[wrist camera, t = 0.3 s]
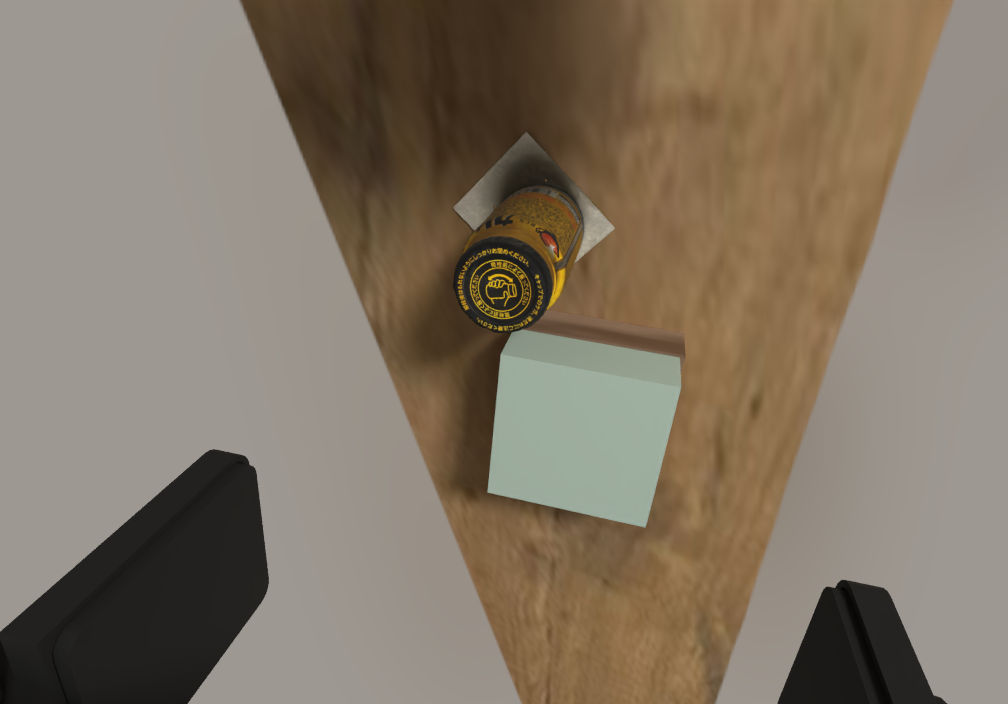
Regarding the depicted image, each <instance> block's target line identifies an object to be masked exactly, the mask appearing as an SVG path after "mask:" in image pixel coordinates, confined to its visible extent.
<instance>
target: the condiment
mask: <svg viewBox="0 0 1008 704" xmlns="http://www.w3.org/2000/svg"><path fill="white" fill-rule="evenodd" d="M545 179H546V180H547V182H545ZM494 205H496V209H495V210H494V207H493V206H494ZM453 209H454V210H455V211H456V212H457V213H458V214H459V215H460V216H461V217H462V218H463V219H464V220H465V221H466V222H467V223H468V224H469V225H470V227H471V228H472V229H473V230H474V232H473V234H472V235H471V237H470V238H469V240H468V241H467V243H466V245H465V248H464V250H463V254H462V256H461V257H460V260H459V262H458V263H457V266H456V269H455V275H454V281H453V288H454V290H455V293H456V296H457V299H458V302H459V305H460V307H461V308H462V310H463V311H464V312H465V313H466V314H467V315H468V317H469V318H470V319H472V320H473V321H474V322H475V323H476V324H478V325H479V326H481V327H484V328H487V329H489V330H492V331H494V332H497V333H510V332H516V331H520V330H522V329H525V328H528V327H530V326H532V325H533V324H534V323H535V322H537V321H538V320H539V319H540V318H541V317H542V316H543V315H544V313H545V311H546V310H548V309H549V308H550V307H551V306H552V305H553V304H554V303H555V301H556V300H557V299H558V298H559V296H560V295H561V293H562V291H563V288H564V286H565V284H566V282H567V280H568V278H569V275H570V271H571V269H572V268H573V264H574V263H575V262H576V261H577V260H579V259H580V258H581V257H582V256H583V255H584V254H585V253H587V252H588V251H589V250H590V249H591V248H593V247H594V246H595V245H596V244H597V243H599V242H600V241H601V240H602V239H603V238H604V237H606V236H607V235H608V234H609V233H610V232H611V231H612V230H614V229H615V228H614V227H613V226H612V224H611V223H610V222H609V221H608V220H607V219H606V218H605V217H604V215H603V214H602V213H601V212H600V211H599V210H598V209H597V208H596V207H595V205H593V204H592V202H591V201H590V200H589V199H588V198H587V197H586V195H585V194H584V193H583V192H582V191H581V190H580V189H579V188H578V187H577V186H576V185H575V184H574V183H573V182H572V181H571V179H570V178H569V177H568V176H567V175H566V174H565V173H564V172H563V171H562V170H561V169H560V167H559V166H558V165H557V164H556V163H555V162H554V161H553V160H552V159H551V157H550V156H549V155H548V154H547V153H546V152H545V151H544V150H543V149H542V148H541V147H540V146H539V145H538V144H537V143H536V142H535V140H534V139H533V138H532V137H531V136H530V135H529V134H528V133H527V132H525V133H524V134H523V135H522V136H521V137H520V138H519V140H518V141H517V142H516V143H515V144H514V145H513V146H512V147H511V148H510V149H509V150H508V151H507V152H506V153H505V154H504V155H503V156H502V157H501V158H500V159H499V160H498V162H497V163H496V164H495V165H494V166H493V167H492V168H491V169H490V170H489V171H488V172H487V173H486V174H485V175H484V177H483V178H481V179H480V180H479V181H478V182H477V183H476V185H475V186H474V187H473V188H472V189H471V190H470V191H469V192H468V193H467V194H466V195H465V196H464V197H463V198H462V199H461V200H460V201H459V202H458V203H457V204H456V205H455V206H454V207H453Z"/></svg>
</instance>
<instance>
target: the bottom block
mask: <svg viewBox="0 0 1008 704" xmlns="http://www.w3.org/2000/svg"><path fill="white" fill-rule="evenodd" d="M522 330H528V331H533V332H539V333H545V334H550V335H556V336H561V337H567V338H573V339H578V340H584V341H589V342H595V343H601V344H606V345H612V346H618V347H623V348H629V349H634V350H640V351H646V352H651V353H657V354H663V355H668V356H674V357H679V358H680V373H681V372H682V368H683V363H684V359H685V343H684V333H681V332H675V331H669V330H664V329H658V328H652V327H646V326H640V325H634V324H628V323H622V322H616V321H610V320H604V319H599V318H593V317H587V316H581V315H575V314H569V313H563V312H557V311H551V310H546V311H545V313H544V315H543V316H542V317H541V318H540V319H539V320H538V321H537V322H535V323H534V324H533V325H532V326H530V327H528V328H525V329H522Z"/></svg>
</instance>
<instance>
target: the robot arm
mask: <svg viewBox="0 0 1008 704" xmlns="http://www.w3.org/2000/svg"><path fill="white" fill-rule="evenodd" d="M268 584H269V577H268V568H267V560H266V552H265V542H264V534H263V525H262V517H261V509H260V500H259V491H258V483H257V474H256V470H255V468H254V467H253V466H250V465H249V461H248V459H247V458H246V457H245V456H243V455H239V454H234V453H230V452H224V451H220V450H215V449H214V450H209V451H208V452H206V453H205V454H204V455H202V456H201V457H200V458H199V459H198V460H197V461H196V462H195V463H193V464H192V465H191V466H190V467H189V468H188V469H186V470H185V471H184V472H183V473H182V474H181V475H179V476H178V477H177V478H176V479H175V480H174V481H173V482H171V483H170V484H169V485H168V486H167V487H166V488H165V489H163V490H162V491H161V492H160V493H159V494H158V495H157V496H155V497H154V498H153V499H152V500H151V501H150V502H149V503H147V504H146V505H145V506H144V507H143V508H142V509H141V510H140V511H138V512H137V513H136V514H135V515H134V516H132V517H131V518H130V519H129V520H128V521H127V522H126V523H124V524H123V525H122V526H121V527H120V528H119V529H118V530H116V531H115V532H114V533H113V534H112V535H111V536H110V537H108V538H107V539H106V540H105V541H104V542H103V543H102V544H101V545H99V546H98V547H97V548H96V549H95V550H94V551H92V552H91V553H90V554H89V555H88V556H87V557H86V558H85V559H83V560H82V561H81V562H80V563H79V564H77V565H76V566H75V567H74V568H73V569H72V570H71V571H70V572H68V573H67V574H66V575H65V576H64V577H63V578H61V579H60V580H59V581H58V582H57V583H56V584H54V585H53V586H52V587H51V588H50V589H49V590H48V591H47V592H46V593H44V594H43V595H42V596H41V597H40V598H38V599H37V600H36V601H35V602H34V603H33V604H32V605H30V606H29V607H28V608H27V609H26V610H25V611H24V612H22V613H21V614H20V615H19V616H18V617H17V618H16V619H14V620H13V621H12V622H11V623H10V624H9V625H8V626H6V627H5V628H4V629H3V630H2V631H1V632H0V704H188V702H189V701H190V700H191V698H192V697H193V695H194V694H195V693H196V691H197V690H198V689H199V687H200V686H201V684H202V683H203V682H204V680H205V679H206V678H207V676H208V675H209V673H210V672H211V671H212V669H213V668H214V667H215V665H216V664H217V662H218V661H219V660H220V658H221V657H222V656H223V654H224V653H225V652H226V650H227V649H228V647H229V646H230V645H231V643H232V642H233V640H234V639H235V638H236V636H237V635H238V634H239V632H240V631H241V630H242V628H243V627H244V625H245V624H246V622H247V621H248V620H249V619H250V617H251V616H252V614H253V613H254V612H255V610H256V609H257V608H258V606H259V605H260V604H261V602H262V600H263V599H264V597H265V595H266V592H267V588H268ZM778 704H947V703H946V702H945V701H944V700H943V699H942V698H940V697H937V696H934V695H933V693H932V691H931V689H930V686H929V684H928V682H927V679H926V677H925V675H924V672H923V670H922V668H921V666H920V663H919V661H918V659H917V656H916V654H915V652H914V649H913V647H912V645H911V642H910V640H909V638H908V635H907V633H906V631H905V628H904V626H903V624H902V621H901V619H900V617H899V615H898V612H897V610H896V608H895V605H894V603H893V601H892V599H891V597H890V595H889V593H888V591H887V590H885V589H884V588H881V587H876V586H871V585H867V584H861V583H857V582H852V581H847V580H841V581H840V582H839V583H838V584H837V586H836V588H832V587H826V588H825V589H824V590H823V592H822V594H821V596H820V599H819V601H818V604H817V606H816V609H815V611H814V614H813V616H812V619H811V621H810V624H809V626H808V629H807V631H806V634H805V636H804V639H803V641H802V643H801V646H800V648H799V651H798V653H797V656H796V658H795V661H794V664H793V666H792V668H791V671H790V673H789V676H788V678H787V681H786V683H785V686H784V688H783V691H782V693H781V696H780V698H779V701H778Z"/></svg>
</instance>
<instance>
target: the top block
mask: <svg viewBox="0 0 1008 704" xmlns="http://www.w3.org/2000/svg"><path fill="white" fill-rule="evenodd" d="M680 390H681V373H680V358H679V357H674V356H668V355H663V354H657V353H651V352H646V351H640V350H634V349H629V348H623V347H618V346H612V345H606V344H601V343H595V342H589V341H584V340H578V339H573V338H567V337H561V336H556V335H550V334H545V333H539V332H533V331H528V330H520V331H516V332H512V333H511V335H510V337H509V339H508V341H507V343H506V345H505V347H504V349H503V351H502V353H501V357H500V368H499V378H498V389H497V399H496V409H495V420H494V430H493V441H492V451H491V461H490V472H489V482H488V493H492V494H497V495H501V496H506V497H510V498H515V499H519V500H524V501H528V502H533V503H537V504H542V505H546V506H551V507H555V508H560V509H565V510H569V511H574V512H578V513H583V514H587V515H592V516H596V517H601V518H605V519H610V520H614V521H619V522H623V523H628V524H632V525H637V526H641V527H646V524H647V520H648V516H649V512H650V508H651V504H652V500H653V496H654V493H655V489H656V485H657V481H658V477H659V473H660V469H661V465H662V461H663V457H664V453H665V449H666V445H667V441H668V437H669V433H670V430H671V426H672V422H673V418H674V414H675V410H676V406H677V402H678V398H679V394H680Z"/></svg>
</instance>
